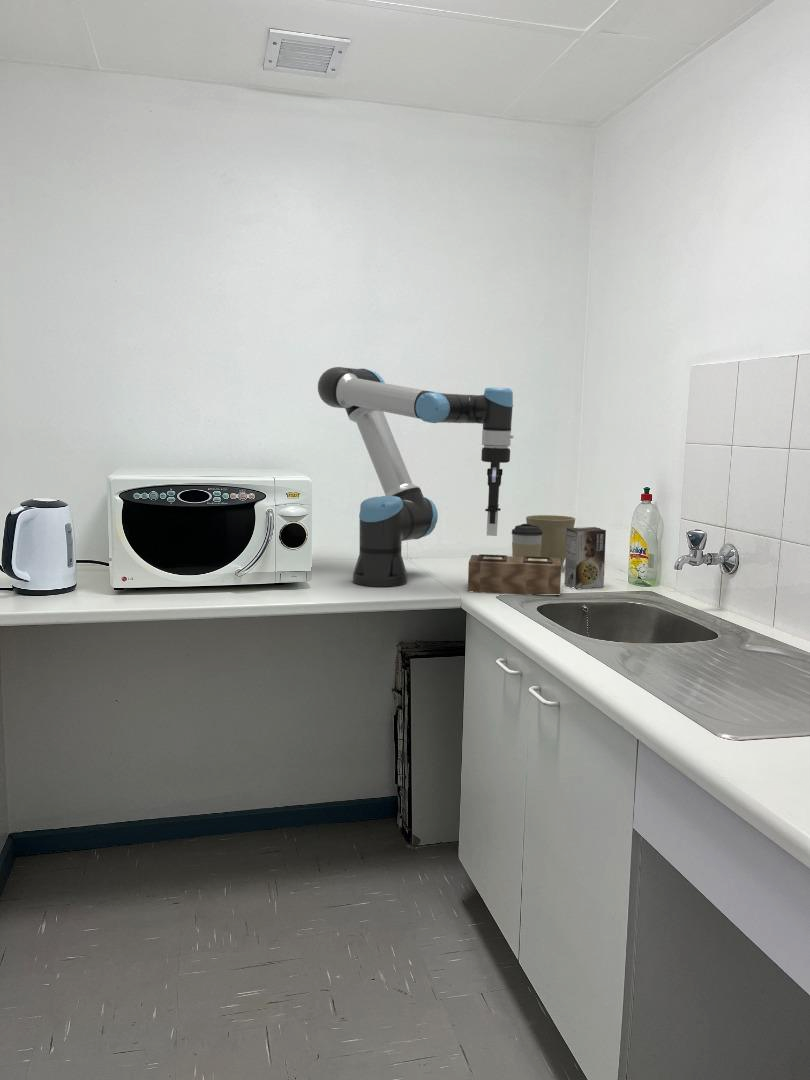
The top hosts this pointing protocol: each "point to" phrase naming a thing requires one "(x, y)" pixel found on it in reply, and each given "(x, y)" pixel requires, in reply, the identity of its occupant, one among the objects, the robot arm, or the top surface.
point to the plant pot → (552, 534)
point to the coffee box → (585, 557)
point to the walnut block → (514, 575)
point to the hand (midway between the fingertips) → (491, 535)
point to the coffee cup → (526, 540)
